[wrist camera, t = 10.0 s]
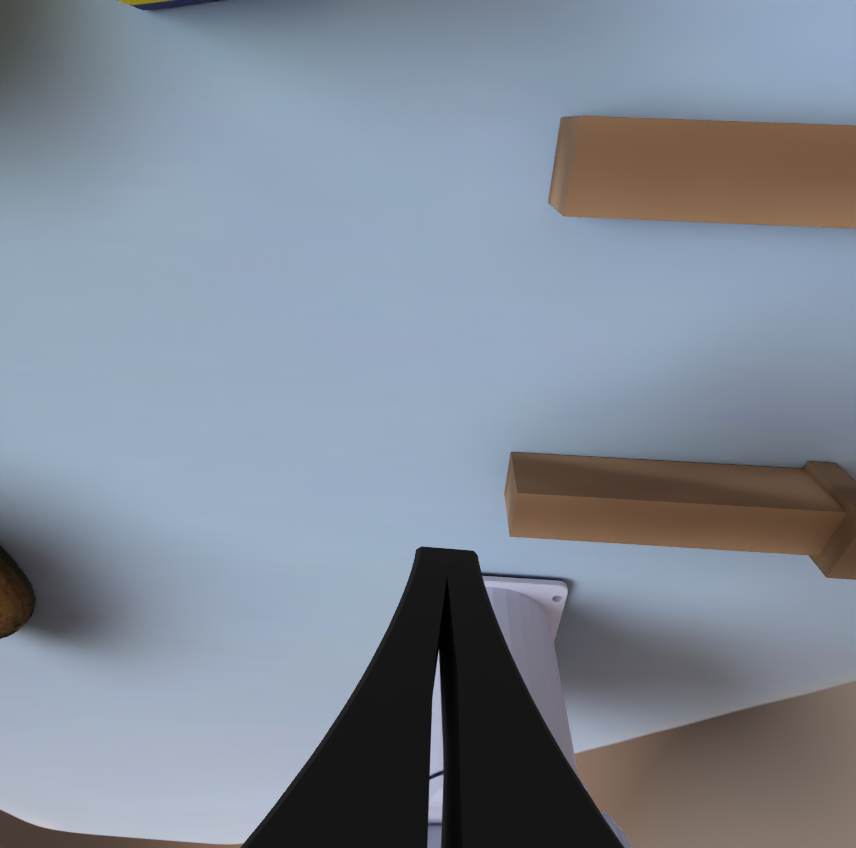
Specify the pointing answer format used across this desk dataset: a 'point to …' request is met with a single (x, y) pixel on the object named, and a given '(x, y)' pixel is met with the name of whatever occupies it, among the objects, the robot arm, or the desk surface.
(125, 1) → the supplement box
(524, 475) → the wooden rail pair
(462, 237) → the desk surface
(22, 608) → the tan lumpy statue
